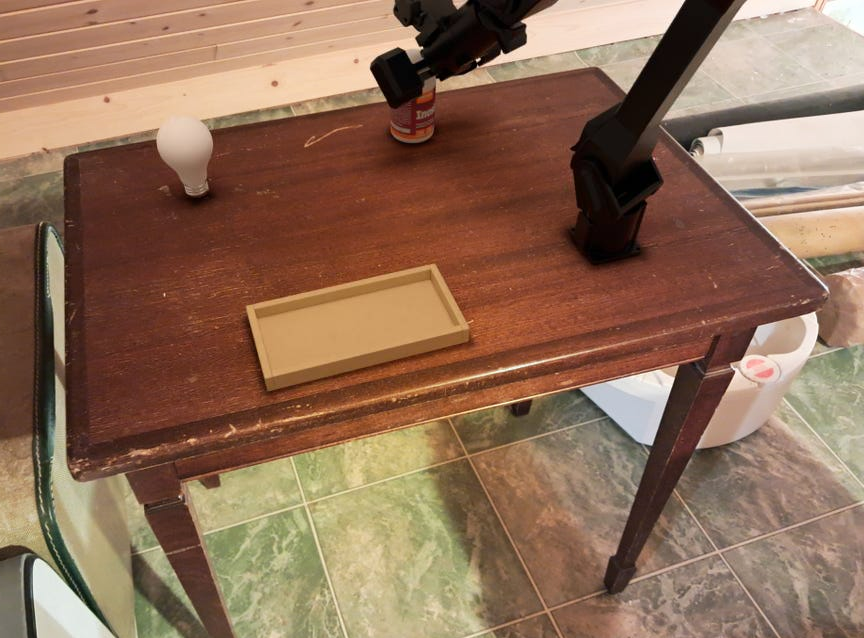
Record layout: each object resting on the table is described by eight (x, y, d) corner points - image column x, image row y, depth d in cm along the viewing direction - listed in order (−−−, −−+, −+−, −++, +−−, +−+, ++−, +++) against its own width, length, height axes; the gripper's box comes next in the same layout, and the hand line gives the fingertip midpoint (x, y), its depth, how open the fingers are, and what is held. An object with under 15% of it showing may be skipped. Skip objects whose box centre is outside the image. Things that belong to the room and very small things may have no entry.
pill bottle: (421, 149, 100) (423, 73, 91) (382, 137, 102) (380, 62, 93) (441, 127, 103) (445, 52, 95) (403, 116, 105) (403, 42, 97)
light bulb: (228, 180, 96) (211, 103, 87) (219, 211, 91) (201, 134, 83) (178, 180, 96) (157, 104, 87) (167, 211, 92) (144, 134, 83)
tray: (434, 276, 83) (435, 262, 81) (468, 341, 76) (470, 328, 75) (248, 319, 79) (245, 305, 77) (267, 391, 72) (264, 378, 71)
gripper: (493, -58, 87) (427, 7, 100) (378, -11, 79) (322, 52, 92) (535, 29, 89) (464, 81, 103) (426, 84, 81) (365, 132, 95)
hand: (406, 85), depth 98 cm, fingers closed on pill bottle, 6 cm apart
